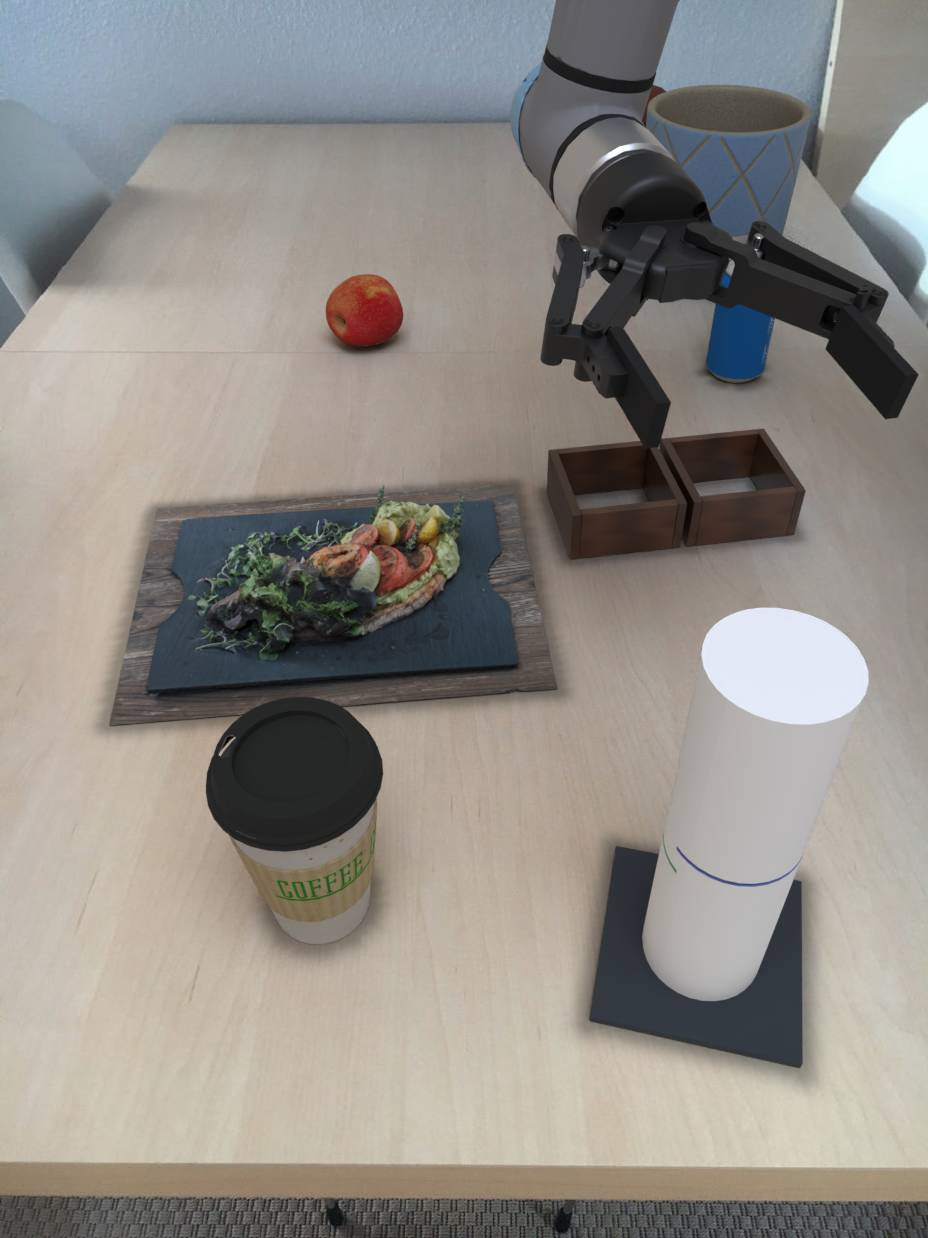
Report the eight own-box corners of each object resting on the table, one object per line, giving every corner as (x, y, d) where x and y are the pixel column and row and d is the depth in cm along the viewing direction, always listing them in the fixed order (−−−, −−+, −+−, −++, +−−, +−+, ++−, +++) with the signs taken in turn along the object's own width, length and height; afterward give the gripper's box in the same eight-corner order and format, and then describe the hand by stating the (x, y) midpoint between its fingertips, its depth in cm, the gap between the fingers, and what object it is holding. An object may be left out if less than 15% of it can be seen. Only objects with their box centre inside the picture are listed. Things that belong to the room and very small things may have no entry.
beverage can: (751, 391, 109) (772, 287, 100) (696, 376, 111) (712, 273, 103) (771, 366, 113) (793, 263, 104) (717, 352, 115) (734, 251, 107)
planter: (644, 305, 124) (663, 136, 110) (621, 243, 138) (635, 86, 124) (795, 300, 124) (833, 131, 111) (757, 238, 138) (786, 81, 124)
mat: (799, 885, 64) (801, 880, 64) (800, 1068, 56) (802, 1064, 55) (615, 850, 66) (616, 845, 66) (589, 1021, 58) (590, 1016, 58)
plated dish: (511, 480, 98) (512, 416, 92) (563, 692, 77) (568, 626, 72) (152, 512, 95) (132, 448, 90) (110, 739, 75) (82, 674, 70)
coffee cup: (378, 983, 60) (355, 842, 50) (224, 958, 61) (170, 816, 51) (412, 847, 67) (398, 698, 57) (273, 827, 68) (234, 678, 58)
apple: (412, 347, 117) (408, 283, 112) (348, 366, 114) (341, 301, 109) (383, 321, 122) (377, 258, 117) (320, 338, 120) (312, 274, 114)
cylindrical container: (702, 1025, 57) (793, 752, 40) (618, 934, 61) (667, 651, 44) (785, 956, 60) (903, 674, 43) (699, 873, 64) (775, 586, 47)
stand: (754, 471, 98) (764, 427, 94) (794, 534, 90) (806, 490, 87) (546, 493, 96) (548, 449, 92) (569, 559, 89) (572, 515, 85)
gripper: (787, 249, 68) (963, 442, 55) (436, 277, 63) (537, 498, 49) (824, 138, 63) (1030, 323, 49) (442, 158, 57) (557, 371, 44)
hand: (783, 411), depth 49 cm, fingers open, 13 cm apart
